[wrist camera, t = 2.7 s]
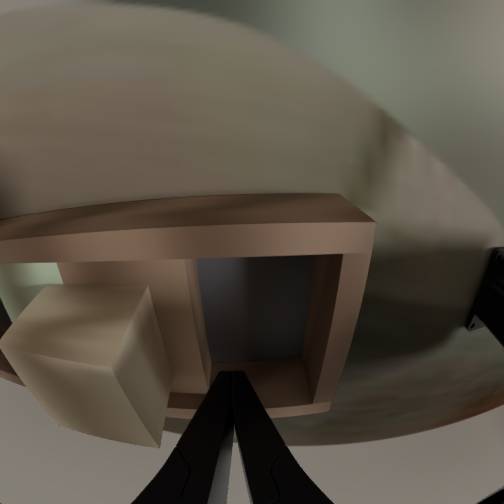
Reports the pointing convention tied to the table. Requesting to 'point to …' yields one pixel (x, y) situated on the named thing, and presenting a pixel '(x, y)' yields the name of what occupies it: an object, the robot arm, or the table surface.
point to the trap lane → (213, 284)
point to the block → (94, 360)
